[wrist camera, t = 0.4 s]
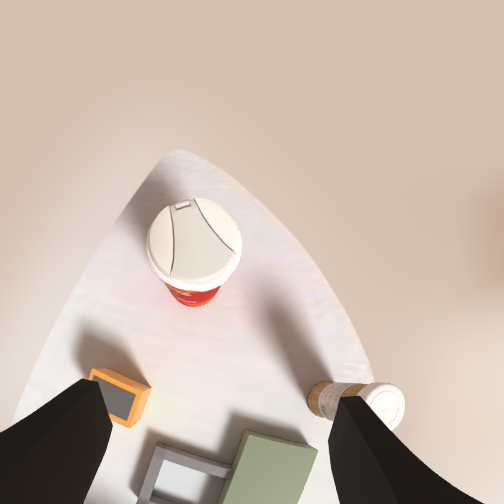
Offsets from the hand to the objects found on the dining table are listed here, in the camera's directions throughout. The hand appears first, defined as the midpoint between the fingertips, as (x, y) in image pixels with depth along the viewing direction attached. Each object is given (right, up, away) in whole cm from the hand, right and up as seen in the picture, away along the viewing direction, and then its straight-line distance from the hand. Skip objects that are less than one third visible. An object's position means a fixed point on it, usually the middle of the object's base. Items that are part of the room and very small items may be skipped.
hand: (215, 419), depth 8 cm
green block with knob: (-3, -23, +20) cm, 30 cm away
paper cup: (-6, +1, +29) cm, 29 cm away
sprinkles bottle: (+10, -13, +26) cm, 31 cm away
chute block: (-13, -11, +23) cm, 28 cm away
